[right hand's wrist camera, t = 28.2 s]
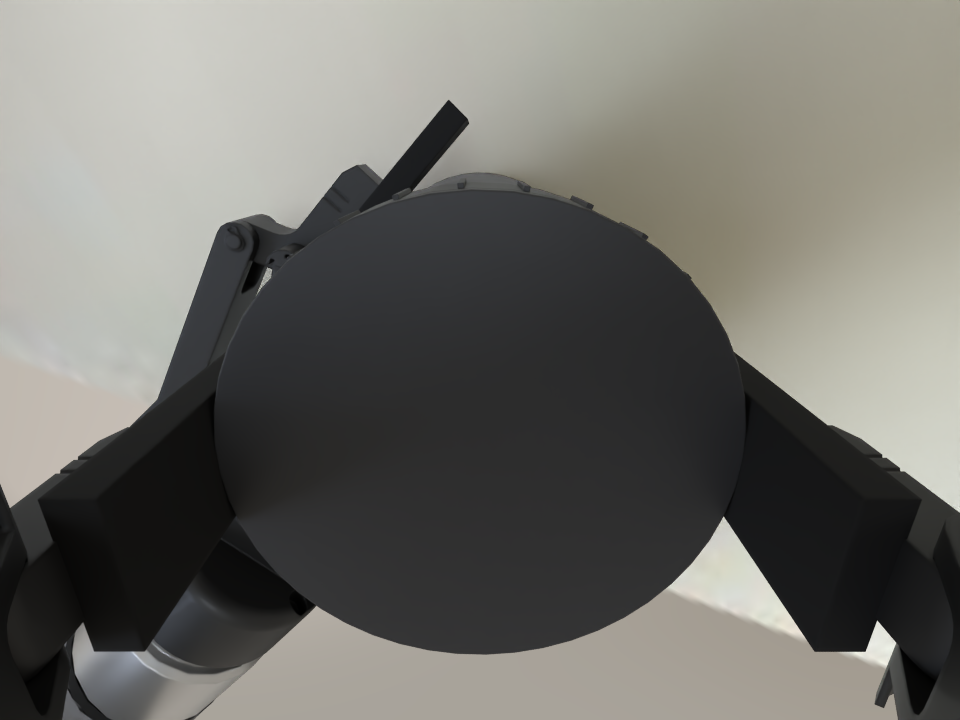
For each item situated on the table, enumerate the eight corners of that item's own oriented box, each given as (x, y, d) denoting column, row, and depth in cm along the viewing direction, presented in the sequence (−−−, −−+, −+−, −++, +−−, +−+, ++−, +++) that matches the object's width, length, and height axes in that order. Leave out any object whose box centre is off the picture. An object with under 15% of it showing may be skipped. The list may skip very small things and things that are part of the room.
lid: (572, 65, 9) (598, 41, 7) (768, 473, 13) (826, 536, 11) (161, 342, 11) (89, 384, 9) (420, 634, 15) (410, 715, 12)
